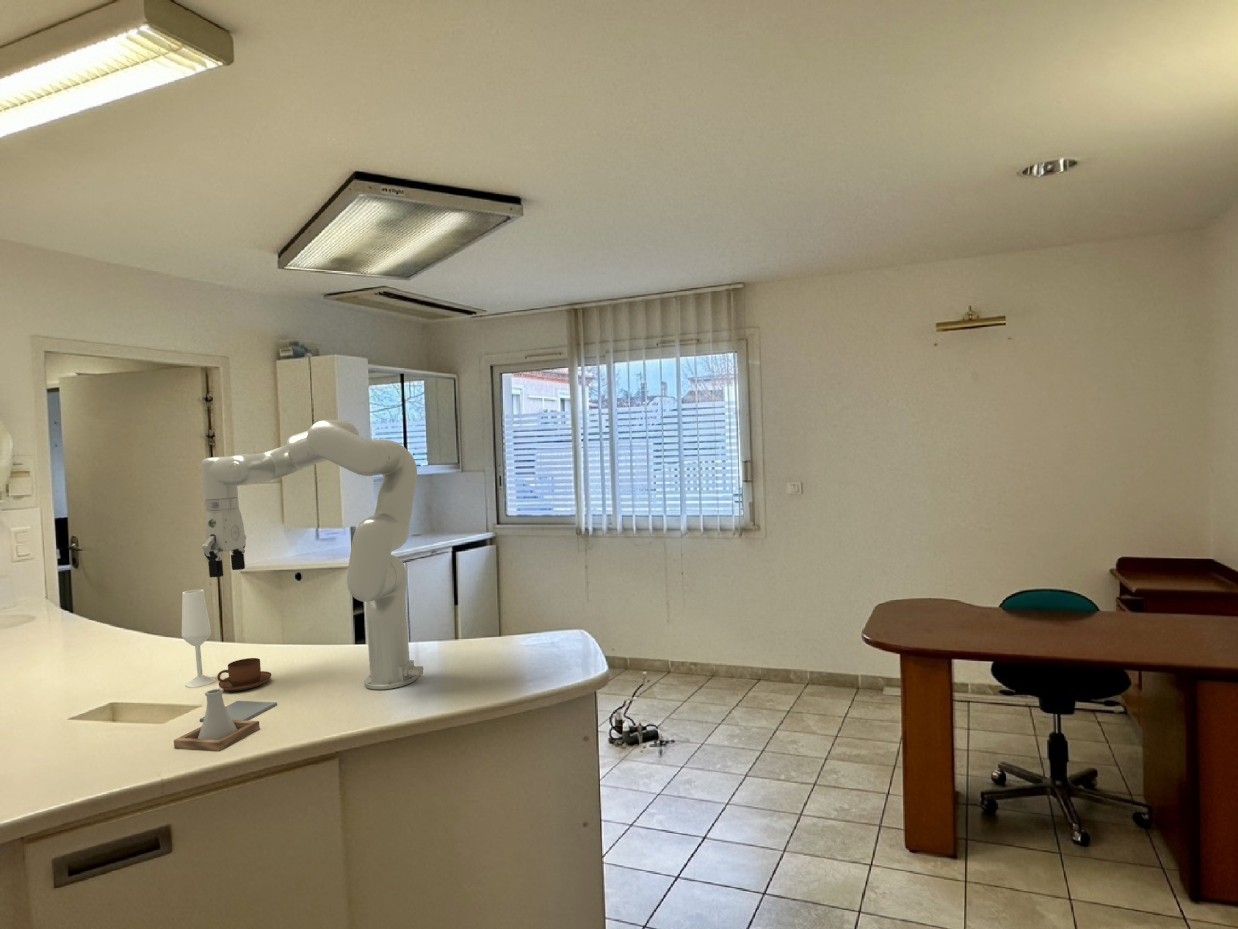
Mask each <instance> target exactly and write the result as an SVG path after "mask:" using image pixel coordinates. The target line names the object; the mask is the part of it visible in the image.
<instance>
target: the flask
mask: <svg viewBox="0 0 1238 929" xmlns="http://www.w3.org/2000/svg"><path fill="white" fill-rule="evenodd" d="M223 693H224V689H222V688H220V687H219V688H212V689H208V690H207V691H206V692H205V693H204V695H205V697H206V708H205V709H206V710H205V714H204V716H203V717H204V720H203V722H202V725H201V726H202V727H201V726H200V727H201V730H200V733H199V736H198V739H209V740H219V739H221V738H223V737H225V736H227V735H229V734H231V733H232V732H234V731H236V730H237V728H236V726H235V724H234V723H233V721H232V719H231V718H230V716H229V714H228V712H227V710H226V708H225V707H226V706H225V702H224V699H223Z"/></svg>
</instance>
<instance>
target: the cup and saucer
mask: <svg viewBox="0 0 1238 929" xmlns="http://www.w3.org/2000/svg"><path fill="white" fill-rule="evenodd" d="M261 669H262V668H261V659H260V658H257V657H250V658H249V657H248V658H242V659H237V660H234V661H232V662H229V663H228V665H227V669H223V670H220V671H219V673H217V676H216V678H217V681H218V687H219V688H220V689H223V691H224V690H225V691H231V692H232V691H243V690H245V691H246V690H249V689H253V688H256V687H258V686H261V685H264V684H265V683H267V682H268V681H269V680H270V679H271V678H272V672H270V671H265V670H263V671H262V670H261ZM225 673H227V675H228V677H225V678H224V679H222V678H221V675H222V674H225Z"/></svg>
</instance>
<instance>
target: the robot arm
mask: <svg viewBox="0 0 1238 929" xmlns="http://www.w3.org/2000/svg"><path fill="white" fill-rule="evenodd" d="M326 461H329V462H331V463H334V464H335V465H337V466H340V467H341V468H343V469H345V470H347V471H350V472H351V473H354V474H356V475H358V476H362V477H375V476H382V482H381V485H380V488H379V490H378V494H377V500H376V505H375V512H374V514H373V515H372V516H369V517H366V518H364V520H362V521H361V522H360V523H359V524H358V525H357V527H356V529H355V531H354V533H353V537H352V541H351V546H350V553H349V560H348V566H347V574H346V586H347V589H348V592H349V593H350V595H351V596H352V597H353V598H354V599H356V600H357V601H359V602H364V603H366V604H365V618H366V619H365V620H366V633H367V634H366V636H367V647H368V659H369V660H368V661H369V672H370V673H369V674H370V675H368V676H366V678H364V682H363V684H364V687H365V688H367V689H370V690H389V689H395V688H400V687H403V686H407V685H409V684H412V683H413V682H414V681H416V680H417V679H418V677H423V675H424V666H421V665H418V666H415V662H414V660H413V659H410V647H409V646H410V645H409V636H408V634H409V633H408V623H407V622H408V620H407V616H408V615H407V603H406V602H407V601H406V598H407V597H406V596H407V578H408V577H407V570H406V566H405V564H404V562H403V560H401V559H400V558H399V556H396V555H394V554H392V552H394V551H396V550H399V549H401V547H403V546H405V543H407V540H408V537H409V532H410V525H411V520H412V519H411V518H412V513H413V505H414V499H415V493H416V488H417V482H418V481H417V480H418V470H417V469H418V468H417V464H416V461H415V459H414V456H413V455H412V453H411V452H410V451H409V450H408V449H407V448H406V447H405V446H403V445H402V444H400V443H398V442H396V441H393V440H388V439H371V440H369V439H367V438H364V437H362V436H360V433H359V431H358V429H357V427H356V425H354V424H353V423H351V422H349V421H346V420H342V419H323V420H318V421H317V422H315V423H313V424H312V425H311V426H310V427H309V429H308V430H305V431H302V432H299V433H296V434H293V435H291V436H290V437H288V439H287V441H286V444H285V445H282V446H280V447H277V448H274V449H271V450H268V451H265V452H262V453H261V452H260V453H245V454H243V453H242V454H235V455H229V456H215V457H214V456H213V457H206V458H204V459H202V461H201V477H202V487H203V488H202V490H203V499H204V501H203V502H204V509H205V510H204V512H205V542H204V543H203V544H202V545H201V547H202V550H203V553H204V557H205V558H206V561H207V563H208V564H207V565H208V575H209V577H210V578H221V577H223V576H224V567H223V560H222V559H221V558H222V554H223V552H230V553H231V554H230V560H231V561H230V563H231V569H232V571H238V570H239V571H240V570H244V569H246V563H245V562H246V561H245V551H246V550H245V547H246V545H247V543H246V541H247V535H246V533H245V526H244V522H243V517H242V513H241V509H240V504H239V493H238V490H239V489H238V486H239V485H240V486H243V485H244V486H245V485H252V484H259V483H260V484H261V483H266V482H270V481H275V480H278V479H280V478H283V477H286V476H288V475H291V474H294V473H297V472H299V471H302V470H304V469H306V468H309V467H311V466H315V465H317V464H319V463H323V462H326Z"/></svg>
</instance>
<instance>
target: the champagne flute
mask: <svg viewBox="0 0 1238 929" xmlns="http://www.w3.org/2000/svg"><path fill="white" fill-rule="evenodd" d="M205 596H206V595H205V591H204V589H192V590H186V591H183V592H182V596H181V597H182V601H181V603H182V604H181V606H182V607H181V638H182V639H183V640H184V641H185V642H186V643H188V644H189V645H191V646H192V647H195V648H194V650H195V662H196V672H197V673H196V674H197V676H195V677H194V678H192V680H191V681H189V682H187V683H186V685H185V687H188V688H197V687H198V688H199V687H203V686H207V685H209V684H213V683H214V682H215V681H216V679H215V678H213V677H210V676H207V675H204V673H203V664H202V663H203V662H202V651H201V650H202V649H201V646H202V645H203V644H204V643H205V642H206V641H207V640H208V638H209V637H210V635H211V634H212V628H211V622H210V617H209V612H208V606H207V602H206V597H205Z"/></svg>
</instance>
